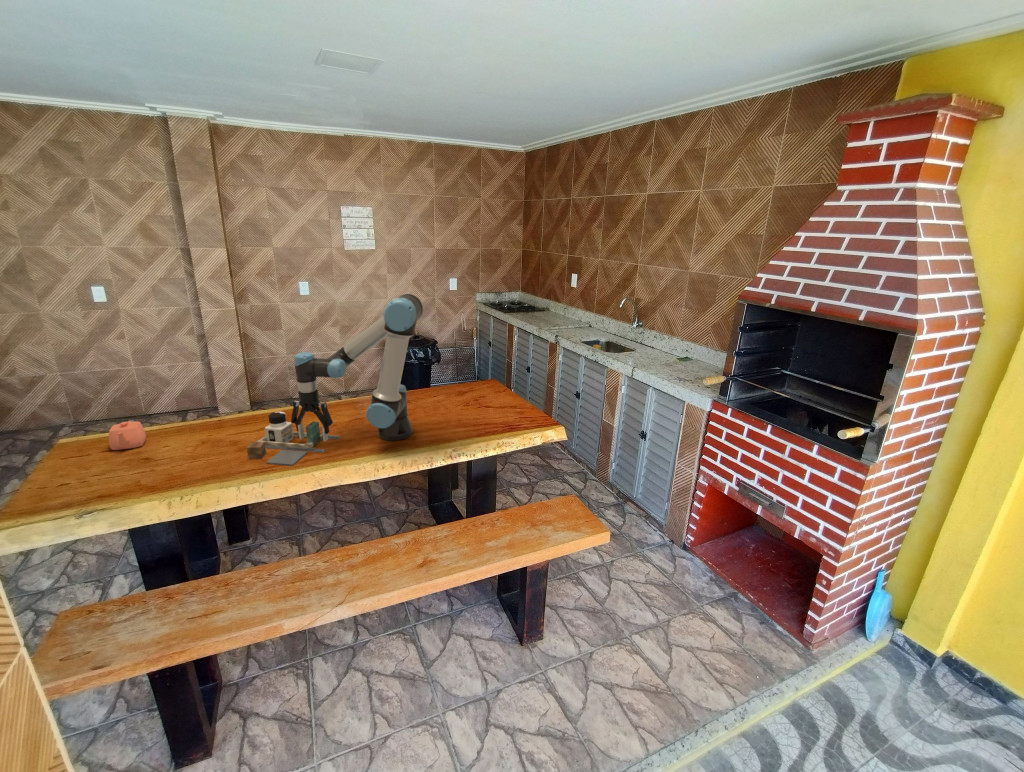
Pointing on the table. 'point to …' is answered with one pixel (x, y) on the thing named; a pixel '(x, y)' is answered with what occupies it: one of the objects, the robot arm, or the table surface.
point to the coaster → (286, 457)
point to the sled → (311, 435)
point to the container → (279, 428)
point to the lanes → (300, 447)
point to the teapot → (126, 435)
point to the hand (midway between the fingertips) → (314, 439)
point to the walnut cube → (256, 450)
